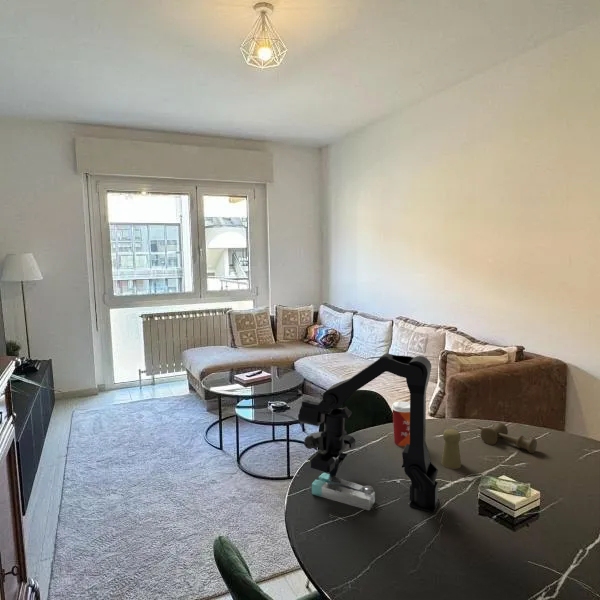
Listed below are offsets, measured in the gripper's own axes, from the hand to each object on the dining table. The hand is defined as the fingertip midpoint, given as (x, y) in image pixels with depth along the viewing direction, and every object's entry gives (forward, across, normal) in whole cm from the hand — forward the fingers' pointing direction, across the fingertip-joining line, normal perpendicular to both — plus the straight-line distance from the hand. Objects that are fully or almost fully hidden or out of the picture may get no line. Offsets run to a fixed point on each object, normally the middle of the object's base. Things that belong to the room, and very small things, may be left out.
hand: (332, 478), depth 130 cm
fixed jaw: (+1, +5, +6) cm, 8 cm away
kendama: (+1, -52, +41) cm, 66 cm away
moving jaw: (+1, +3, +4) cm, 5 cm away
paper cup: (+2, -36, +10) cm, 37 cm away
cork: (+1, -28, +28) cm, 40 cm away
